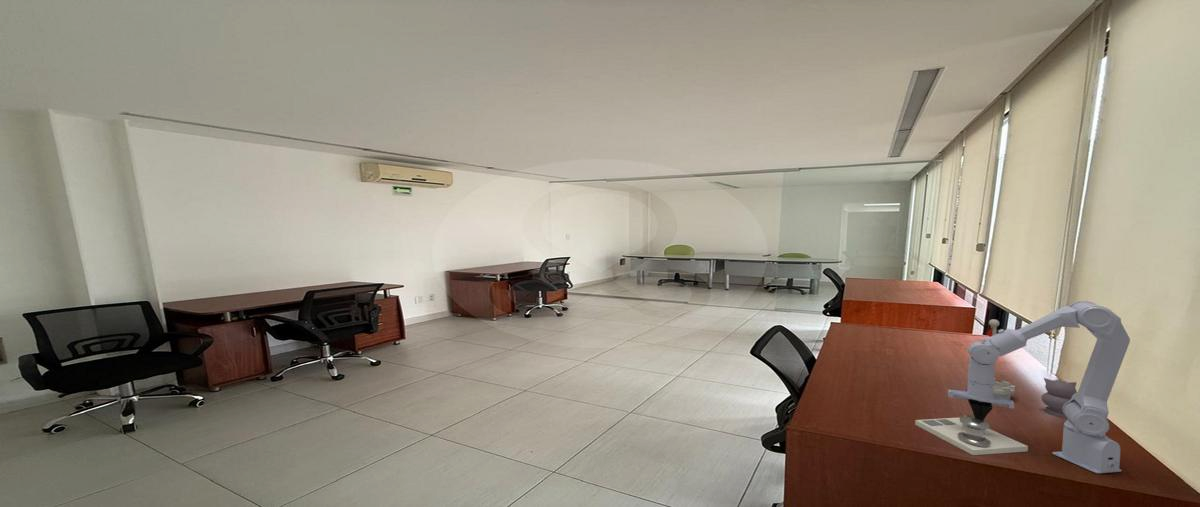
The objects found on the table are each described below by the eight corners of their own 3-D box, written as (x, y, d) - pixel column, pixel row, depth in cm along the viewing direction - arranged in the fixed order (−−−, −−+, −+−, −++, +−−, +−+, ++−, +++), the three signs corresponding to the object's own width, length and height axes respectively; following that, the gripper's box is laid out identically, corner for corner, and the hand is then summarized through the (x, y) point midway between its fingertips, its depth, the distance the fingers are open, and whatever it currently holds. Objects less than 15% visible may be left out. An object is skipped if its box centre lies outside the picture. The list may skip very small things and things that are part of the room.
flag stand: (978, 386, 161) (982, 314, 160) (1021, 399, 149) (1026, 321, 148) (959, 391, 157) (963, 317, 155) (1002, 404, 144) (1007, 324, 143)
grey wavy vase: (1044, 415, 136) (1046, 381, 135) (1037, 407, 142) (1039, 374, 142) (1082, 422, 131) (1084, 387, 130) (1072, 413, 137) (1075, 379, 137)
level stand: (1027, 451, 113) (1028, 445, 113) (973, 455, 111) (973, 449, 111) (963, 421, 131) (963, 416, 131) (915, 424, 129) (915, 419, 129)
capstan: (992, 449, 111) (993, 431, 111) (959, 441, 115) (959, 424, 115) (983, 426, 124) (984, 410, 124) (953, 420, 128) (954, 404, 128)
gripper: (1010, 382, 119) (1007, 426, 120) (947, 372, 128) (945, 413, 128) (1017, 390, 114) (1014, 435, 114) (950, 379, 122) (948, 421, 123)
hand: (978, 424), depth 121 cm, fingers closed, pressing on capstan
